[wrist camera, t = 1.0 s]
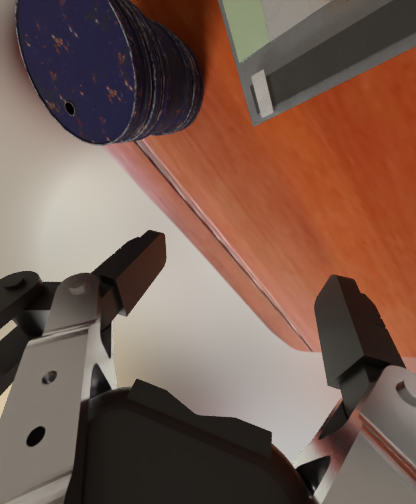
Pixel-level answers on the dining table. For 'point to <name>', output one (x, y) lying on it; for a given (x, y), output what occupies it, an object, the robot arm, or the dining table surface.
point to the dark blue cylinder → (108, 69)
